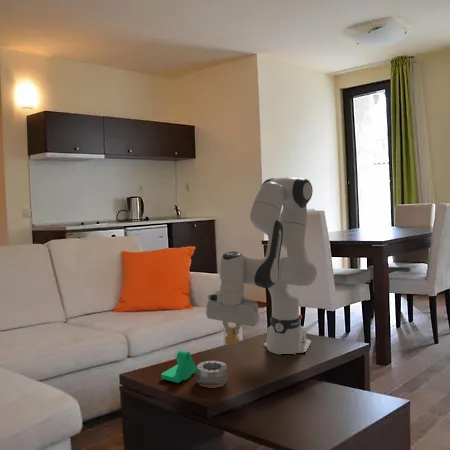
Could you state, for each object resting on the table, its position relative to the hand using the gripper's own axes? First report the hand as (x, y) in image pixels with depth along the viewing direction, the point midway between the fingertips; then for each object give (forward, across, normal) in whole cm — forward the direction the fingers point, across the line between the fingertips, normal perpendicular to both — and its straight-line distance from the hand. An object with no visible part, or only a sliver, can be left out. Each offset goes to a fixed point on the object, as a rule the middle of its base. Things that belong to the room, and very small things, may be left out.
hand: (232, 333), depth 199 cm
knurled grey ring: (+15, +3, +10) cm, 19 cm away
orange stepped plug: (+3, 0, 0) cm, 3 cm away
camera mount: (+16, +16, +12) cm, 25 cm away
